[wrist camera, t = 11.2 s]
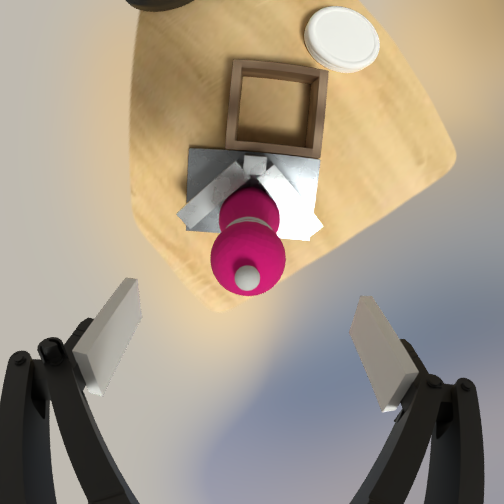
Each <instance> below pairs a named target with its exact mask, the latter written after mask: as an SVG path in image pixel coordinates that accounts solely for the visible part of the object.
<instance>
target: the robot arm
mask: <svg viewBox="0 0 504 504" xmlns="http://www.w3.org/2000/svg"><path fill="white" fill-rule="evenodd" d="M126 1H127V2H128V3H129V4H130V5H131V6H133V7H134V8H136V9H139V10H143V11H150V12H157V11H166V10H171V9H174V8H178V7H181V6H183V5H186V4H188V3H190V2H192V1H194V0H126ZM141 319H142V313H141V305H140V297H139V289H138V280H137V279H133V278H125V279H124V281H123V282H122V283H121V284H120V286H119V287H118V288H117V290H116V291H115V292H114V293H113V295H112V296H111V297H110V299H109V300H108V301H107V303H106V304H105V305H104V307H103V308H102V309H101V311H100V312H99V313H98V315H97V316H96V318H95V319H92V318H87V319H85V320H84V321H82V322H81V323H80V324H79V325H78V327H77V328H76V330H75V331H74V332H73V334H72V335H71V336H70V338H69V339H68V340H67V342H66V343H65V344H63V342H62V340H60V339H59V338H55V337H51V338H47V339H44V340H43V341H42V342H40V344H39V345H38V349H37V350H38V353H39V355H40V357H41V359H42V360H36V359H32V358H31V356H30V354H29V353H28V352H26V351H17V352H16V353H14V354H13V355H12V356H11V357H10V359H9V361H8V365H7V370H6V374H5V379H4V384H3V389H2V395H1V401H0V504H57V502H56V497H55V490H54V483H53V474H52V465H51V452H50V432H49V431H50V429H49V407H50V406H49V405H50V400H51V401H52V405H53V409H54V412H55V416H56V419H57V423H58V426H59V430H60V433H61V436H62V439H63V442H64V445H65V447H66V450H67V453H68V456H69V458H70V461H71V463H72V466H73V468H74V471H75V473H76V475H77V478H78V480H79V482H80V485H81V487H82V489H83V491H84V493H85V495H86V497H87V499H88V504H139V502H138V500H137V499H136V498H135V496H134V494H133V493H132V491H131V490H130V488H129V486H128V484H127V483H126V481H125V479H124V478H123V476H122V474H121V472H120V471H119V469H118V467H117V465H116V463H115V461H114V460H113V458H112V456H111V454H110V452H109V450H108V448H107V446H106V444H105V442H104V440H103V437H102V435H101V433H100V431H99V429H98V427H97V424H96V422H95V420H94V417H93V415H92V412H91V410H90V408H89V405H88V402H87V400H86V397H85V394H84V393H83V389H84V388H85V386H87V388H88V391H89V393H92V394H96V395H99V396H103V395H104V393H105V391H106V389H107V387H108V385H109V383H110V380H111V378H112V376H113V374H114V372H115V370H116V368H117V366H118V364H119V362H120V360H121V358H122V356H123V354H124V352H125V350H126V348H127V345H128V344H129V342H130V340H131V338H132V336H133V334H134V332H135V330H136V328H137V326H138V325H139V323H140V321H141ZM349 333H350V335H351V338H352V340H353V342H354V344H355V347H356V349H357V352H358V354H359V356H360V359H361V361H362V363H363V366H364V368H365V371H366V373H367V375H368V378H369V380H370V383H371V385H372V388H373V390H374V393H375V395H376V398H377V400H378V403H379V405H380V408H381V411H382V412H388V411H394V410H396V408H397V406H398V405H399V404H400V403H401V405H402V408H403V409H402V410H401V412H400V413H399V414H398V416H397V417H396V419H395V420H394V422H395V425H394V427H393V429H392V431H391V433H390V435H389V437H388V439H387V441H386V443H385V445H384V447H383V449H382V451H381V453H380V454H379V456H378V458H377V460H376V462H375V463H374V465H373V467H372V469H371V470H370V472H369V474H368V476H367V477H366V479H365V481H364V482H363V484H362V485H361V487H360V489H359V490H358V492H357V493H356V495H355V496H354V498H353V499H352V501H351V502H350V504H404V502H405V500H406V498H407V496H408V494H409V491H410V489H411V487H412V485H413V482H414V480H415V478H416V475H417V473H418V471H419V468H420V465H421V463H422V460H423V458H424V455H425V452H426V449H427V446H428V444H429V441H430V438H431V435H432V438H431V453H430V464H429V473H428V481H427V489H426V495H425V501H424V504H483V502H484V450H483V436H482V426H481V418H480V410H479V403H478V397H477V391H476V387H475V385H474V384H473V382H472V381H470V380H469V379H467V378H460V379H458V380H457V382H456V383H455V384H454V385H450V384H444V383H443V381H442V380H441V379H440V378H439V377H437V376H436V375H433V374H429V373H428V371H427V370H426V368H425V366H424V365H423V363H422V361H421V360H420V358H419V357H418V355H417V353H416V352H415V350H414V349H413V347H412V345H411V344H410V343H408V342H407V341H406V340H405V339H399V338H398V337H397V335H396V333H395V331H394V330H393V328H392V327H391V325H390V324H389V322H388V320H387V319H386V317H385V316H384V314H383V313H382V311H381V310H380V308H379V307H378V305H377V303H376V302H375V300H374V299H373V297H372V296H360V300H359V303H358V306H357V309H356V312H355V315H354V319H353V322H352V325H351V328H350V331H349Z"/></svg>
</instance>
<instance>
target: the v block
mask: <svg viewBox="0 0 504 504" xmlns="http://www.w3.org/2000/svg"><path fill="white" fill-rule="evenodd" d="M319 168H320V160H319V159H313V158H306V157H298V156H290V155H281V154H272V153H262V152H250V151H237V150H222V149H201V148H189V158H188V179H187V203H186V205H185V206H184V207H183V208H182V209H181V210H180V211H179V212H178V213H177V214H176V215H177V216H178V217H179V218H180V219H181V220H182V221H183V222H184V223H185V224H186V231H200V232H214V233H221V230H220V227H219V212H220V209H221V206H222V204H223V202H224V201H225V200H226V199H227V198H228V197H229V196H230V195H231V194H232V193H234V192H236V191H237V190H239V189H241V188H245V187H255V188H258V189H261V190H262V191H264V192H265V193H267V194H268V195H269V196H271V197H272V198H273V200H274V201H275V202H276V204H277V206H278V209H279V212H280V226H279V230H278V232H277V235H278V237H279V238H288V239H299V240H309V237H310V236H311V235H312V234H314V233H315V232H316V231H318V230H319V229H320V228H322V227H323V225H322V224H321V223H320V221H319V220H318V219H317V218H316V216H315V215H314V214H313V212H314V205H315V198H316V191H317V183H318V176H319Z"/></svg>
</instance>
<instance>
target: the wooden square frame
mask: <svg viewBox="0 0 504 504" xmlns="http://www.w3.org/2000/svg"><path fill="white" fill-rule="evenodd" d="M243 76H245V77H258V78H269V79H278V80H286V81H294V82H300V83H307V84H311V92H310V103H309V113H308V124H307V134H306V143H305V148H303V147H295V146H287V145H278V144H269V143H258V142H247V141H237V132H238V121H239V110H240V99H241V89H242V79H243ZM327 85H328V71H327V70H322V69H316V68H311V67H305V66H298V65H291V64H284V63H275V62H266V61H255V60H240V59H233V68H232V78H231V88H230V98H229V109H228V120H227V132H226V144H225V149H236V150H249V151H261V152H271V153H281V154H289V155H298V156H305V157H313V158H320V155H321V147H322V138H323V129H324V119H325V108H326V97H327Z"/></svg>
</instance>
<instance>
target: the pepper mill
mask: <svg viewBox="0 0 504 504" xmlns="http://www.w3.org/2000/svg"><path fill="white" fill-rule="evenodd" d="M279 226H280V212H279V209H278V206H277V204H276V202H275V201H274V200H273V198H272V197H271V196H269V195H268V194H267V193H265V192H264V191H262V190H261V189H258V188H255V187H245V188H241V189H239V190H237V191H236V192H234V193H232V194H231V195H230V196H229V197H228V198H227V199H226V200H225V201H224V202H223V204H222V206H221V209H220V212H219V227H220V230H221V233H220V234H219V235H218V237H217V238H216V240H215V242H214V244H213V247H212V250H211V267H212V271H213V274H214V275H215V277H216V279H217V281H218V282H219V283H220V284H221V285H222V286H223V287H224V288H225V289H227V290H228V291H230V292H232V293H235V294H238V295H243V296H254V295H259V294H262V293H264V292H266V291H268V290H270V289H271V288H272V287H273V286H274V285H275V284H276V283H277V282H278V280H279V279H280V277H281V275H282V273H283V271H284V268H285V261H286V258H285V249H284V247H283V244H282V242H281V240H280V238H279V237H278V235H277V232H278V230H279Z"/></svg>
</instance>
